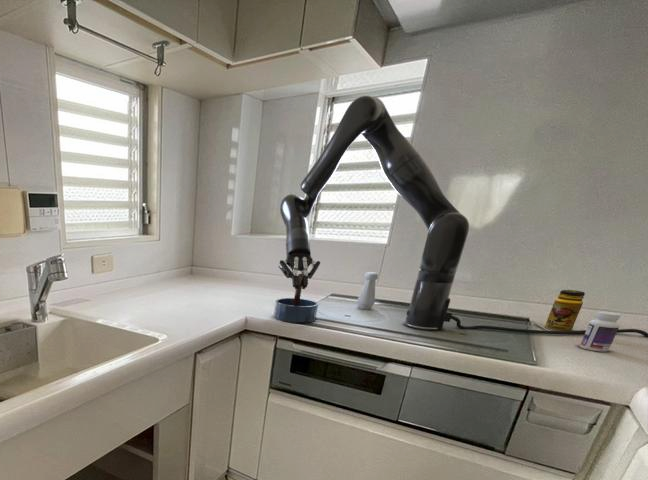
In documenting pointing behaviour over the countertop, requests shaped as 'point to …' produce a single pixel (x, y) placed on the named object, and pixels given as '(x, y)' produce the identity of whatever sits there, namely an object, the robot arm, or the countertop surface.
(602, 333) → the pill bottle
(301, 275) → the brown stamp
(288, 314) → the bowl
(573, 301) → the condiment
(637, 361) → the countertop surface
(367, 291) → the salt shaker
